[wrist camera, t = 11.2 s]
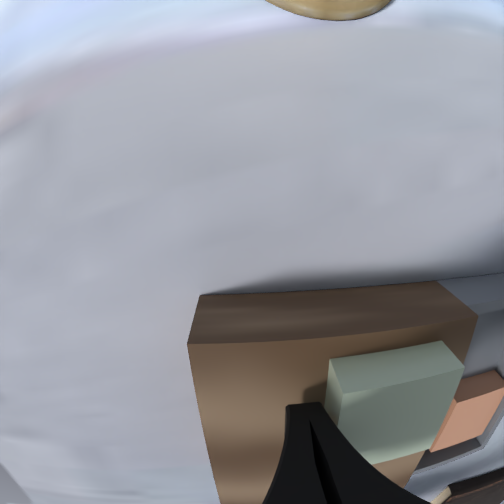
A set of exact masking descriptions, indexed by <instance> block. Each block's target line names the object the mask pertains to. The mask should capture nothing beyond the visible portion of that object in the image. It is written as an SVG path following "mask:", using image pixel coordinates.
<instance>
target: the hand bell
mask: <svg viewBox="0 0 504 504" xmlns="http://www.w3.org/2000/svg"><path fill="white" fill-rule="evenodd" d="M266 1H267V2H269V3H271V4H273V5H275V6H277V7H279V8H282V9H284V10H286V11H289V12H292V13H294V14H298V15H302V16H306V17H310V18H315V19H323V20H353V19H359V18H363V17H365V16H368V15H371V14H373V13H375V12H377V11H379V10H380V9H382V8H383V7H384V6H386V5H387V4H388V3H389V2H390V1H391V0H266Z"/></svg>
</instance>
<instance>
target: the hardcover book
mask: <svg viewBox="0 0 504 504" xmlns="http://www.w3.org/2000/svg"><path fill="white" fill-rule="evenodd" d="M503 500H504V468H501V469H499V470H496V471H493V472H490V473H487V474H484V475H481V476H478V477H475V478H471V479H468V480H464V481H461V482H457V483H453V484H450V485H448V487H447V488H446V489H445V490H444V491H443V492H442V493H441V494H439V495H438V496H437V497H436V498H435V499H434V500H433V501H432V502H431V503H432V504H500V503H501V502H502V501H503Z"/></svg>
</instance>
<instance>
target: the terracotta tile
mask: <svg viewBox="0 0 504 504" xmlns="http://www.w3.org/2000/svg"><path fill="white" fill-rule="evenodd" d="M503 396H504V380H503V378H502V377H501V376H500V375H499V374H498V373H497V372H496V371H495V370H492V371H489V372H485V373H482V374H479V375H475V376H471V377H468V378H464V379H461V380H460V382H459V385H458V388H457V390H456V393H455V395H454V398H453V400H452V402H451V405H450V407H449V409H448V412H447V414H446V416H445V418H444V421H443V423H442V425H441V427H440V429H439V431H438V433H437V435H436V437H435V440H434V442H433V444H432V445H431V447H430V449H429V450H430V452H434V451H437V450H440V449H444V448H447V447H450V446H452V445H455V444H458V443H461V442H464V441H466V440H469V439H472V438H474V437H477V436H479V435H482V433H483V432H484V430H485V428H486V427H487V425H488V423H489V422H490V420H491V418H492V416H493V415H494V413H495V411H496V409H497V407H498V406H499V404H500V402H501V400H502V398H503Z"/></svg>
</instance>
